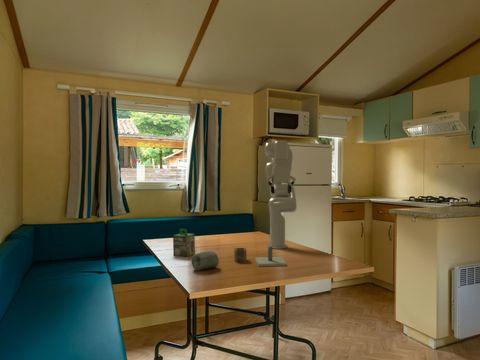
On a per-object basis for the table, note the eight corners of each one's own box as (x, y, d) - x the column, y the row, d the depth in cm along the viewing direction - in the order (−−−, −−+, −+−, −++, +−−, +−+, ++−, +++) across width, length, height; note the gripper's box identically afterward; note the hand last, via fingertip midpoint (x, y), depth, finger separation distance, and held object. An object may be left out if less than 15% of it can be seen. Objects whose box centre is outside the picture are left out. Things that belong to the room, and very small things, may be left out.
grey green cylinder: (196, 266, 154) (197, 245, 159) (187, 272, 161) (188, 251, 166) (222, 270, 161) (222, 249, 166) (213, 275, 168) (213, 255, 173)
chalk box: (195, 253, 197) (195, 228, 197) (186, 257, 188) (186, 230, 188) (182, 252, 201) (182, 227, 201) (172, 255, 192) (172, 229, 192)
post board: (255, 259, 182) (255, 244, 182) (281, 259, 183) (281, 244, 183) (258, 266, 168) (258, 249, 168) (286, 265, 169) (286, 249, 169)
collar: (234, 259, 184) (234, 247, 184) (245, 258, 184) (245, 247, 184) (234, 261, 178) (234, 250, 178) (246, 261, 178) (246, 250, 178)
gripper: (292, 163, 197) (292, 193, 197) (264, 163, 193) (264, 193, 193) (298, 162, 190) (298, 193, 189) (268, 162, 186) (268, 193, 185)
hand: (281, 193), depth 191 cm, fingers open, 9 cm apart
